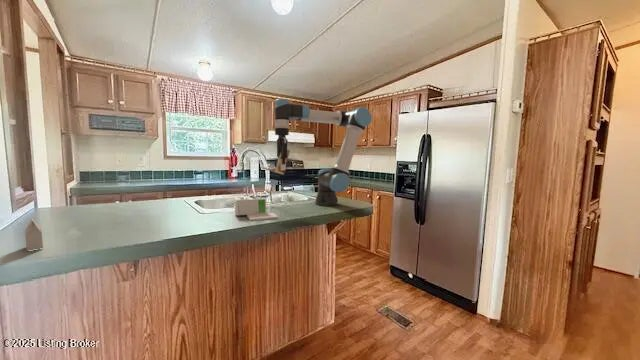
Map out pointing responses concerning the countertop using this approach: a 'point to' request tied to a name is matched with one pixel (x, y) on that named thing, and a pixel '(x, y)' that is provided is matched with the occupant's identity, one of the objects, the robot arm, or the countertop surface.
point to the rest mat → (262, 216)
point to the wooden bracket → (278, 165)
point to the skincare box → (250, 206)
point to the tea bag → (33, 236)
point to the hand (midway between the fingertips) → (281, 169)
